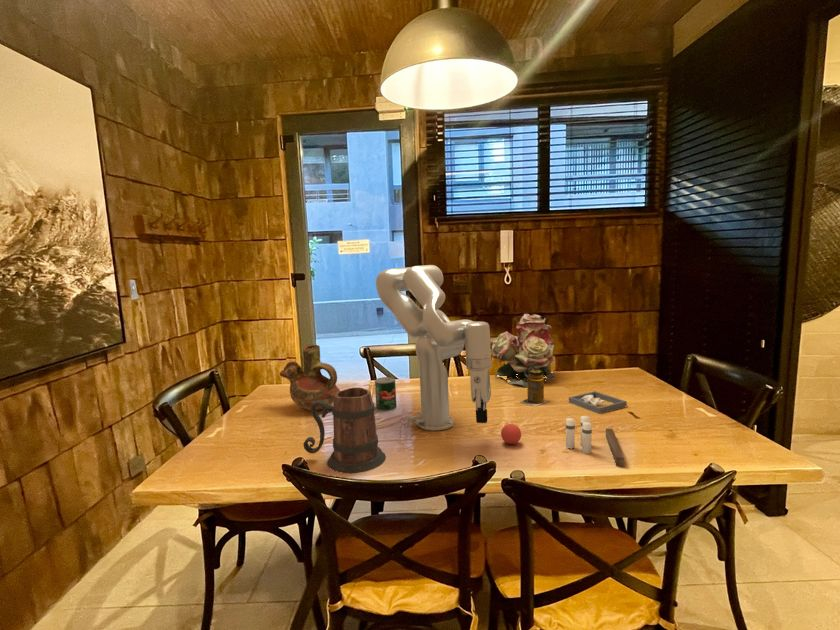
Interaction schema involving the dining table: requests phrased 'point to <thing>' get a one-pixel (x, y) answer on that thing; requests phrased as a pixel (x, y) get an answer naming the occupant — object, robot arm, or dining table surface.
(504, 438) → the ball
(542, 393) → the condiment
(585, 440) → the back right pin
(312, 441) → the tankard
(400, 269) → the robot arm
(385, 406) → the canned tomato
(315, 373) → the ceramic vessel
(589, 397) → the anatomical pelvis
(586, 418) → the back left pin
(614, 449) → the wall
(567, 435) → the front pin
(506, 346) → the rose bouquet
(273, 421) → the dining table surface
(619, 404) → the grey square tray
